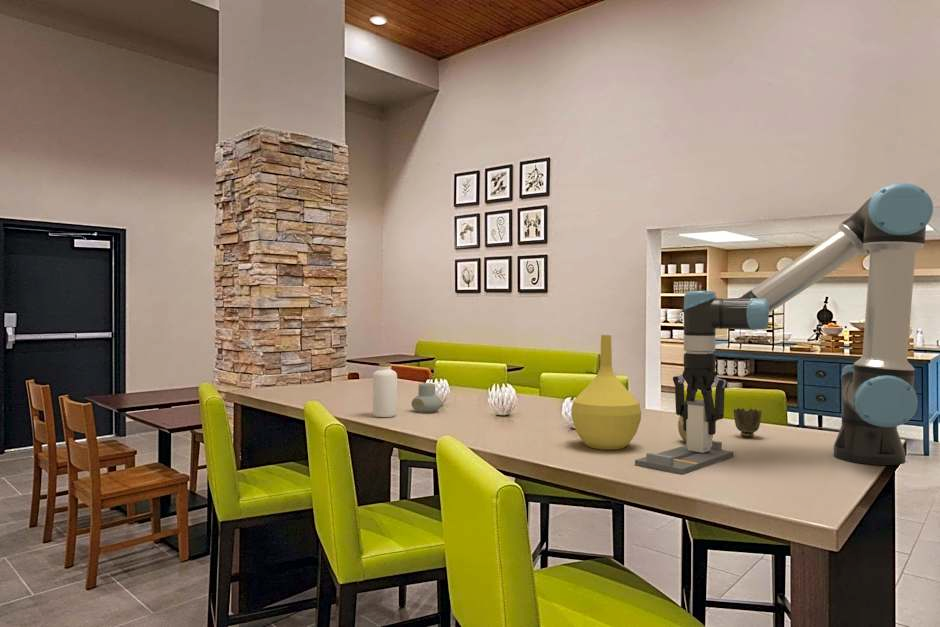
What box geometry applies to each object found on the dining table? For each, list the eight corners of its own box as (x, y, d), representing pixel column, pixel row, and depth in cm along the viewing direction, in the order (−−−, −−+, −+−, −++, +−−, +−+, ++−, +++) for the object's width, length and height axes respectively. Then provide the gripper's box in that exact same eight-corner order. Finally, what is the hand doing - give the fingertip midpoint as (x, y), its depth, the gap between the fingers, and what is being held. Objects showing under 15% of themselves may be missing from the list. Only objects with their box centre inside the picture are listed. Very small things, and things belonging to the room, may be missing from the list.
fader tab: (695, 447, 165) (695, 399, 165) (711, 450, 162) (711, 401, 162) (686, 450, 162) (686, 401, 162) (703, 453, 159) (703, 402, 159)
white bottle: (395, 418, 217) (395, 364, 217) (370, 418, 218) (370, 364, 217) (398, 414, 226) (398, 362, 226) (374, 414, 226) (374, 362, 226)
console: (688, 448, 170) (688, 436, 170) (733, 456, 162) (733, 443, 162) (634, 465, 152) (634, 451, 152) (682, 474, 144) (682, 460, 144)
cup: (733, 438, 184) (733, 410, 184) (733, 434, 191) (733, 407, 191) (762, 440, 182) (762, 412, 181) (760, 436, 188) (761, 408, 188)
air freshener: (408, 411, 233) (408, 383, 233) (426, 409, 239) (426, 381, 239) (427, 414, 225) (427, 386, 225) (445, 412, 231) (445, 384, 231)
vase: (557, 446, 173) (558, 335, 173) (594, 436, 187) (595, 333, 187) (618, 457, 161) (619, 337, 161) (653, 446, 174) (653, 335, 174)
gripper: (739, 353, 158) (739, 449, 158) (675, 350, 171) (675, 439, 171) (726, 354, 153) (725, 453, 153) (660, 351, 165) (660, 443, 165)
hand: (699, 445), depth 162 cm, fingers closed on fader tab, 4 cm apart
